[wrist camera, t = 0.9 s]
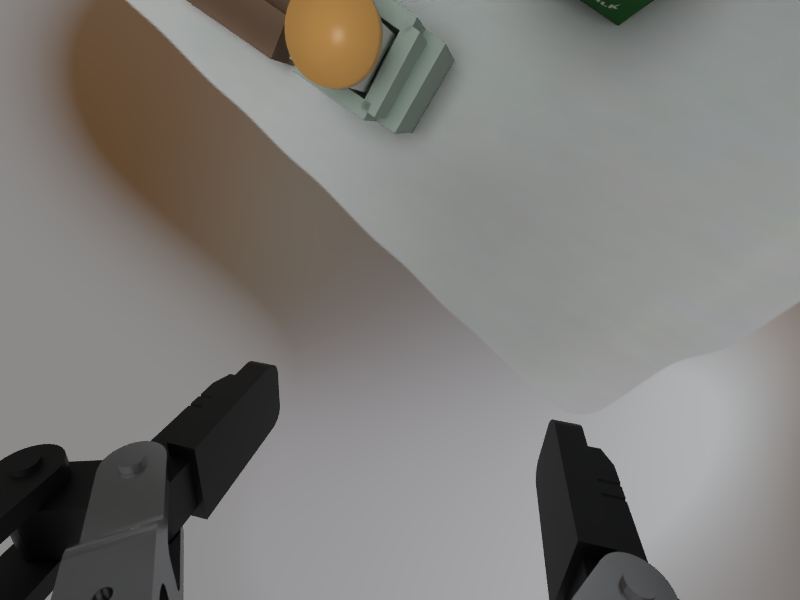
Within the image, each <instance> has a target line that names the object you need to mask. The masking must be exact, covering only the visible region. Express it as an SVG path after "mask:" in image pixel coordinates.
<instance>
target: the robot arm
mask: <svg viewBox="0 0 800 600" xmlns="http://www.w3.org/2000/svg"><path fill="white" fill-rule="evenodd" d="M279 410H280V402H279V385H278V371H277V368H276V366H274V365H270V364H264V363H259V362H254V361H250V362H248V363H247V364H246V365H245V366H244V367H243V368H242V369H241V370H240V371H239V372H238V373H237V374H236V375H232V374H229V375H228V376H226V377H224V378H222V379H220V380H218V381H216V382H214V383H213V384H211V385H210V386H209V387H208V388H207V389H206V390H205V391H204V392H203V393H202V394H201V396H200V397H198V398H196V399H195V400H194V401H193V402H192V403H191V406H188V407H187V408H186V409H185V410H183V412H181V413H180V414H179V415H178V416H177V417H176V418H175V419H174V420H173V421H172V422H171V423H170V424H169V425H168V426H166V427H165V428H164V429H163V430H162V431H161V432H160V433H159V434H158V435H157V436H156V437H155V438H153V439H152V440H151V441H141V442H135V443H132V444H128V445H126V446H123V447H121V448H119V449H117V450H115V451H114V452H112V453H111V454H109V455H108V456H107V457H106V458H105V459H104V460H97V461H76V462H69V461H68V458H67V456H66V453H65V450H64V449H63V448H62V447H60V446H58V445H53V444H43V445H36V446H31V447H28V448H25V449H22V450H20V451H17V452H15V453H13V454H11V455H9V456H7V457H5V458H4V459H2V460H1V461H0V544H1V543H2V542H3V541H4V540H5V539H6V538H8V537H9V536H11V538H12V540H13V543H14V544H13V545H12V546H11V547H10V548H9V549H8V550H6V551H5V552H4V553H3V554H2V555H1V556H0V600H45V598H46V597H47V596H48V595H49V594H50V593H51V592H52V591H53V593H52V597H51V600H183V565H184V564H183V561H184V559H183V558H184V557H183V555H184V550H183V547H184V543H183V541H184V532H183V524H184V523H185V522H186V521H187V519H188V518H189V517H190V515H192V516H197V517H200V518H204V519H208V517H209V516H210V514H211V513H212V512H213V510H214V509H215V507H216V506H217V505H218V503H219V502H220V501H221V499H222V498H223V496H224V495H225V494H226V492H227V491H228V490H229V488H230V487H231V485H232V484H233V483H234V481H235V480H236V478H237V477H238V476H239V474H240V473H241V472H242V470H243V469H244V467H245V466H246V465H247V463H248V462H249V460H250V459H251V458H252V456H253V455H254V454H255V452H256V451H257V449H258V448H259V446H260V445H261V444H262V442H263V441H264V440H265V438H266V437H267V435H268V434H269V433H270V431H271V430H272V429H273V427H274V425H275V423H276V421H277V419H278V415H279ZM536 488H537V496H538V506H539V514H540V523H541V531H542V540H543V549H544V557H545V567H546V575H547V584H548V591H549V600H679V599H678V598H677V596H676V594H675V592H674V590H673V588H672V587H671V585H670V584H669V582H668V581H667V580H666V579H665V577H664V576H663V575H662V574H661V573H660V572H659V571H658V570H657V569H655V568H654V567H653V566H652V565H650V564H649V563H648V561H647V559H646V556H645V553H644V550H643V547H642V544H641V541H640V538H639V536H638V533H637V530H636V527H635V524H634V521H633V518H632V515H631V513H630V510H629V507H628V504H627V502H625V496H624V493H623V490H622V487H620V481H619V478H618V475H617V472H616V469H615V467H614V465H613V464H612V462H611V461H610V460H609V459H608V457H607V456H606V455H605V454H604V453H603V451H602V450H601V449H599V448H594V447H589V446H587V442H586V439H585V436H584V432H583V429H582V426H581V425H577V424H573V423H567V422H562V421H557V420H551V421H550V422H549V425H548V428H547V432H546V435H545V439H544V442H543V446H542V449H541V453H540V456H539V460H538V464H537V471H536Z"/></svg>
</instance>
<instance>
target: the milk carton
mask: <svg viewBox="0 0 800 600" xmlns="http://www.w3.org/2000/svg"><path fill="white" fill-rule="evenodd" d="M581 1H583V2H584V3H586V4H587V5H589V6H590V7H592V8H593V9H594V10H596V11H597V12H599V13H600V14H602V15H603V16H605V17H606V18H608V19H609V20H611V21H612V22H614V23H615V24H617V25H620V24H621V23H622V22H624V21H625V20H627V19H628V18H629V17H631V16H632V15H634V14H635V13H636V12H638V11H639V10H641V9H642V8H643V7H645V6H646V5H648V4H649V3H650V2H652V1H653V0H581Z"/></svg>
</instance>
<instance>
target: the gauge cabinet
mask: <svg viewBox="0 0 800 600" xmlns="http://www.w3.org/2000/svg"><path fill="white" fill-rule="evenodd" d="M373 1H374V3H375V5H376V7H377V9H378V12H379V14H380V17H381V21H382V23H383V24H384V25H385V26H386V27H387V28H388V29H389V30H390V31H391V32H392V33H393V34H394V36H393V38H392V40H391V42H390V44H389V46H388V48H387V50H386V52H385V54H384V56H383V58H382V60H381V62H380V64H379V66H378V68H377V70H376V72H375V74H374V76H373V78H372V80H371V82H370V84H369V85H368V87H367V89H366V91H365V92H362V91H358V90H355V89H351V88H347V89H331V88H327V87H323V86H320V85H318V84H315V83H313V82H312V81H310V80H309V79H307V78H306V77H305V76H304V75H303V74H302V73H301V72H300V71H299V70H298V68H297V67H296V66H295V68H294V70H293V72H295V73H296V74H297V75H299V76H300V77H302V78H303V79H305V80H306V81H308V82H309V83H310V84H312V85H313V86H315V87H316V88H318V89H319V90H321V91H322V92H323V93H325V94H326V95H328V96H329V97H331V98H332V99H333V100H335V101H336V102H338V103H339V104H341V105H342V106H344V107H345V108H346V109H348V110H349V111H351V112H352V113H354V114H355V115H357V116H358V117H359V118H361V119H362V120H369V121H377V122H378V123H380V124H381V125H382V126H384V127H385V128H387V129H388V130H390V131H391V132H393V133H394V134H399V133H412V132H413V130H414V128H415V127H416V125H417V123H418V122H419V120H420V118H421V116H422V115H423V113H424V111H425V110H426V108H427V106H428V104H429V103H430V101H431V99H432V98H433V96H434V94H435V93H436V91H437V89H438V87H439V86H440V84H441V82H442V81H443V79H444V77H445V75H446V74H447V72H448V70H449V69H450V67H451V65H452V63H453V62H454V59H453V57H452V55H451V53H450V51H449V49H448V47H447V45H446V44H445V43H444V42H443V41H441V40H440V39H438V38H437V37H436V36H434V35H433V34H431V33H430V32H429V31H427V30H426V29H425V28H424V26H423V25H422V23H421V22H420V20H419V19H418V17H417V16H415V15H414V14H413V13H411V12H410V11H408V10H407V9H406V8H404V7H403V6H401V5H400V4H399V3H397V2H396V1H394V0H373ZM290 59H291V60H292V58H291V56H290ZM293 64H294V63H293Z"/></svg>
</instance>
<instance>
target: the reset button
mask: <svg viewBox="0 0 800 600" xmlns="http://www.w3.org/2000/svg"><path fill="white" fill-rule="evenodd" d="M393 36H394V34H393V33H392V32H391V31H390V30H389V29H388V28H387V27H386V26H385V25H384V24H383V23H382V21H381V17H380V14H379V12H378V9H377V7H376V5H375V3H374V1H373V0H290V2H289V5H288V8H287V12H286V16H285V40H286V44H287V48H288V51H289V54H290V56H291V58H292V61H293V62H294V64H295V66H296V67H297V68H298V70H299V71H300V72H301V73H302V74H303V75H304V76H305V77H306V78H307V79H309V80H310V81H312V82H313V83H315V84H318V85H320V86H323V87H327V88H331V89H347V88H351V89H355V90H358V91H362V92H365V91H366V89H367V87H368V85H369V84H370V82H371V80H372V78H373V76H374V74H375V72H376V70H377V68H378V66H379V64H380V62H381V60H382V58H383V56H384V54H385V52H386V50H387V48H388V46H389V44H390V42H391V40H392V38H393Z"/></svg>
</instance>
